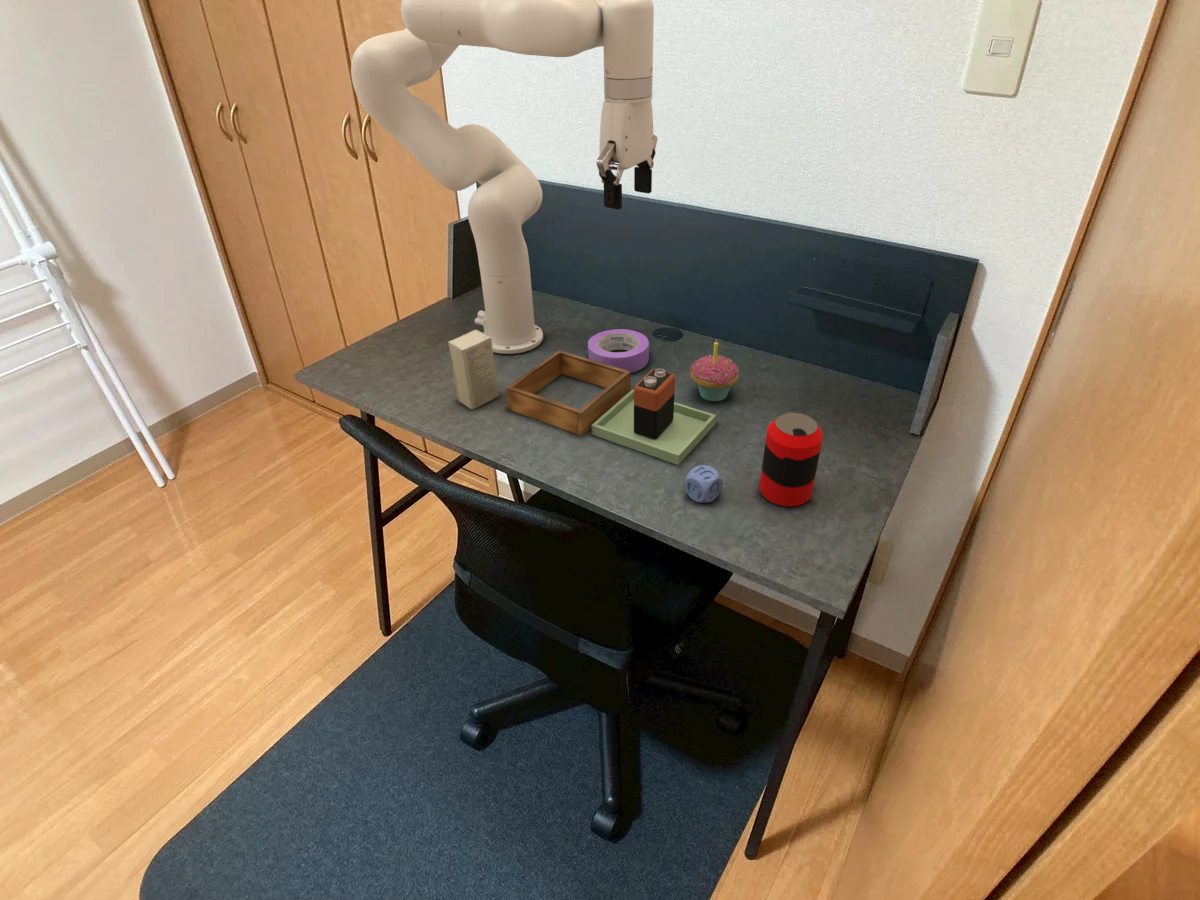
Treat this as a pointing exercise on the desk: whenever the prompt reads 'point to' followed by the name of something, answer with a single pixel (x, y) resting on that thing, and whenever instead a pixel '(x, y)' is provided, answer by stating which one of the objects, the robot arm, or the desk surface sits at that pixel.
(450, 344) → the cosmetic box
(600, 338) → the tape roll
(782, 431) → the soda can
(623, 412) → the tray
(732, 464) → the desk surface
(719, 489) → the decorative dice
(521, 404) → the wooden frame
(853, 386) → the desk surface
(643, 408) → the battery
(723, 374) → the cupcake
